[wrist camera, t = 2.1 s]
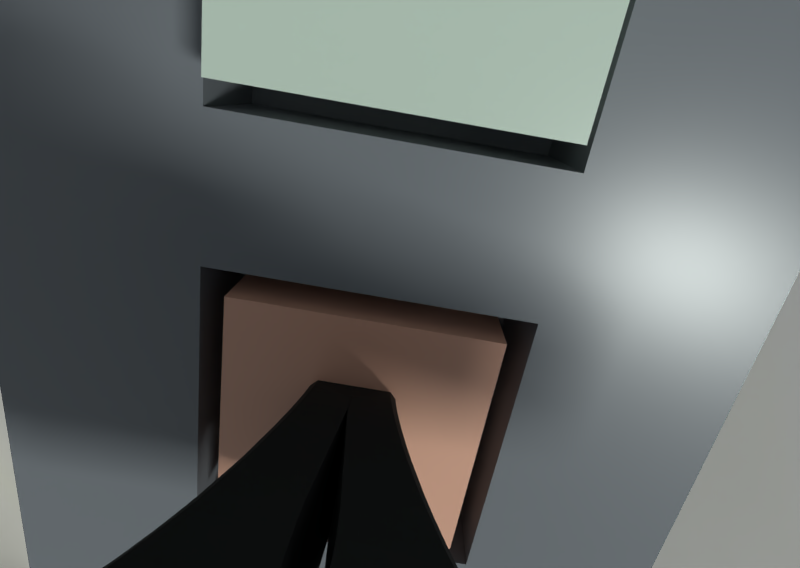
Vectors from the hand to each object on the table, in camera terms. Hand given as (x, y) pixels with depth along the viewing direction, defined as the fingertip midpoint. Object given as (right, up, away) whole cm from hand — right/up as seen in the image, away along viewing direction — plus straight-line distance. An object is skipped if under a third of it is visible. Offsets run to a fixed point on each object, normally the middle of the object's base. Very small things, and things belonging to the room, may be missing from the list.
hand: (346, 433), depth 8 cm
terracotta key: (0, +1, +2) cm, 2 cm away
